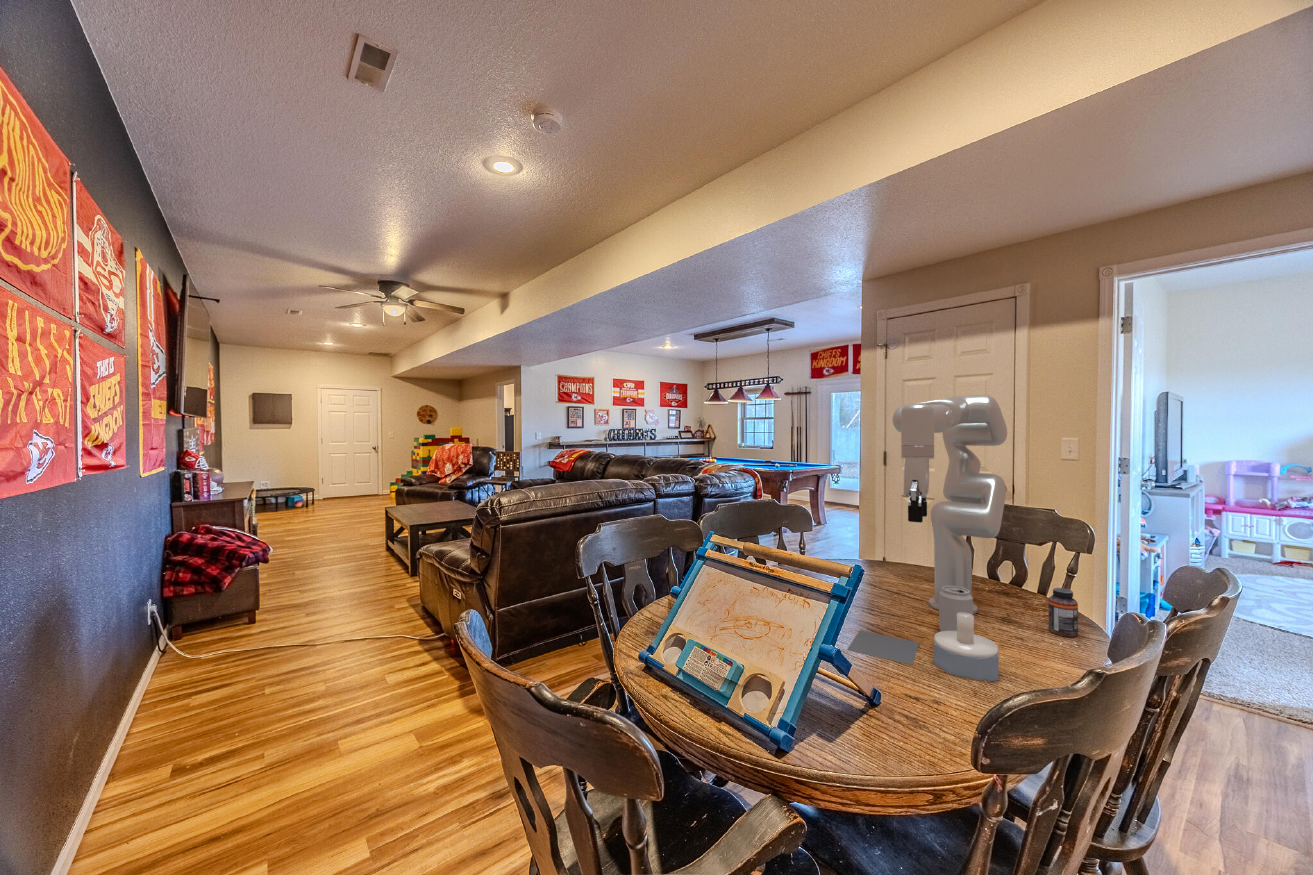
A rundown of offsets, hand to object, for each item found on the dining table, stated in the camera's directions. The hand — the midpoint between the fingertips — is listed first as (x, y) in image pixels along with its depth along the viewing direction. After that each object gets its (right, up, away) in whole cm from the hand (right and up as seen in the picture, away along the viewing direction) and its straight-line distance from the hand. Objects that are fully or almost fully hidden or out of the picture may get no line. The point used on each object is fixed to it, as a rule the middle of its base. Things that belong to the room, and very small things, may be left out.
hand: (917, 518), depth 127 cm
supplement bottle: (+38, -30, +1) cm, 49 cm away
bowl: (+1, -31, -17) cm, 35 cm away
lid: (+1, -26, -17) cm, 31 cm away
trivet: (-12, -31, -7) cm, 34 cm away
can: (+10, -30, +1) cm, 32 cm away
